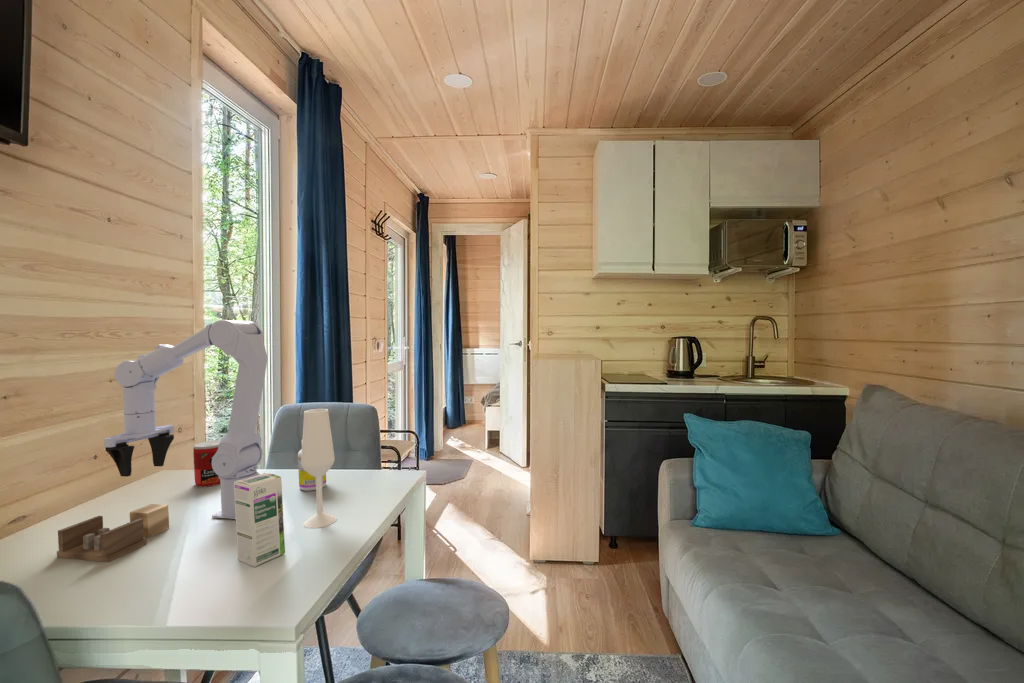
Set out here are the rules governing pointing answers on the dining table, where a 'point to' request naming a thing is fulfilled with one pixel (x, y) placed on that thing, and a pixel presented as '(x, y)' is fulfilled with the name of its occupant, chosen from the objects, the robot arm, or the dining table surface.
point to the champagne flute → (317, 458)
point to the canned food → (205, 463)
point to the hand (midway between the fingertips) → (142, 470)
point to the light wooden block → (152, 518)
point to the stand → (99, 540)
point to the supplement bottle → (307, 477)
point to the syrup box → (259, 518)
